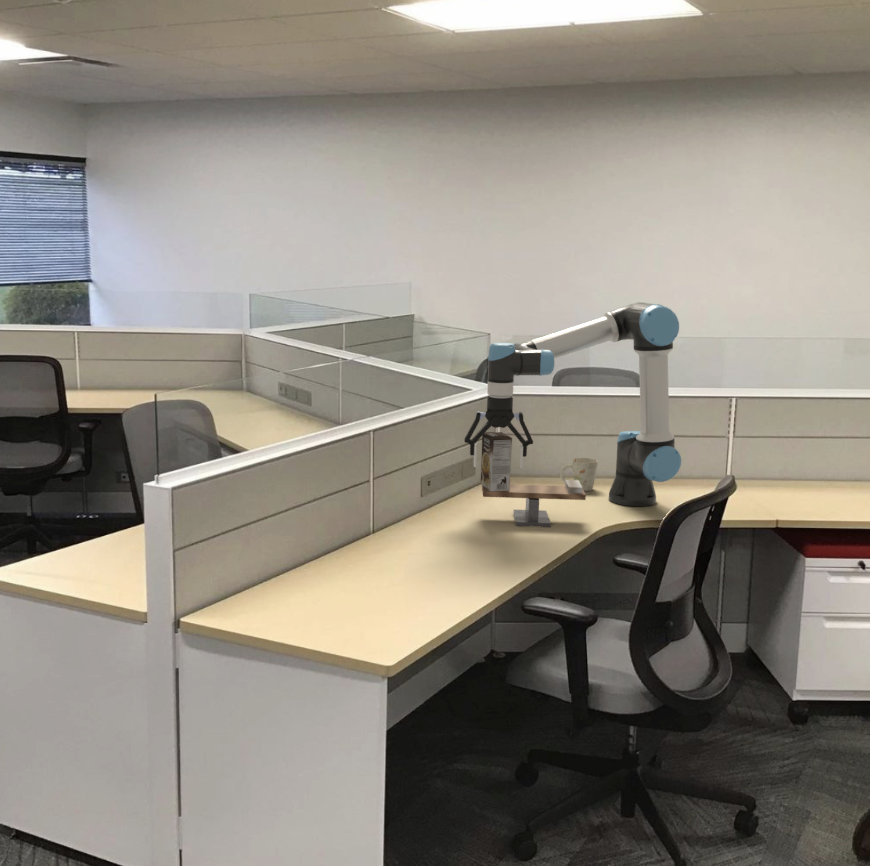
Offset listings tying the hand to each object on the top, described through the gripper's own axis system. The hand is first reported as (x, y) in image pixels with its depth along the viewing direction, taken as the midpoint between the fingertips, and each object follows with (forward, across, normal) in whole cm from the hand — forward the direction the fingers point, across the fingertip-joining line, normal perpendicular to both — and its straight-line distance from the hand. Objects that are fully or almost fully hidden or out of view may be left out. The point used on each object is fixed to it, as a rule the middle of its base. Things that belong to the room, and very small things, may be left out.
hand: (497, 466), depth 298 cm
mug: (+17, -30, -41) cm, 53 cm away
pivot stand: (+16, -11, 0) cm, 19 cm away
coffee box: (+7, +1, 0) cm, 7 cm away
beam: (+8, -11, 0) cm, 13 cm away
